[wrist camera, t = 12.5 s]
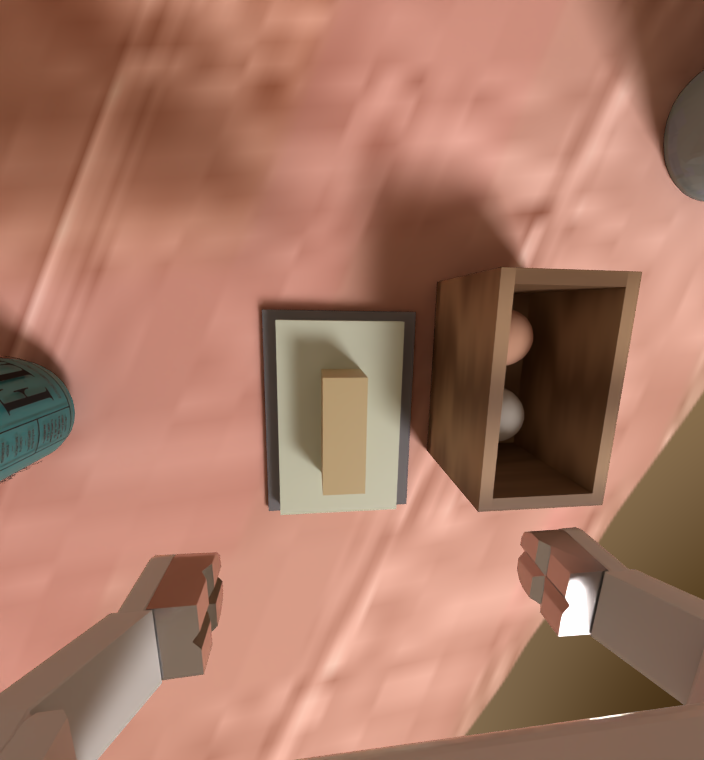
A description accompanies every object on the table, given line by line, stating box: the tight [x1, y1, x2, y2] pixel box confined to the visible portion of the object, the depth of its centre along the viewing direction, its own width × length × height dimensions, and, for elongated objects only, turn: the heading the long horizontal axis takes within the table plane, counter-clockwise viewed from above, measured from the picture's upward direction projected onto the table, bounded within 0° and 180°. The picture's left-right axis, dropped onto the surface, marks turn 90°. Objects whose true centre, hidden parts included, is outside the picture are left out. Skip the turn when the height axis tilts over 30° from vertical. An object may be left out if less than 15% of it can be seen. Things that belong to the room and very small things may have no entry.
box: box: [427, 267, 642, 512], centre depth 21 cm, size 12×7×8 cm, turn 179°
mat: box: [262, 310, 416, 511], centre depth 24 cm, size 14×10×1 cm
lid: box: [275, 320, 405, 515], centre depth 22 cm, size 13×8×4 cm, turn 179°
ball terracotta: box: [506, 310, 533, 366], centre depth 22 cm, size 4×4×4 cm
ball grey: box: [499, 388, 524, 441], centre depth 23 cm, size 4×4×4 cm
